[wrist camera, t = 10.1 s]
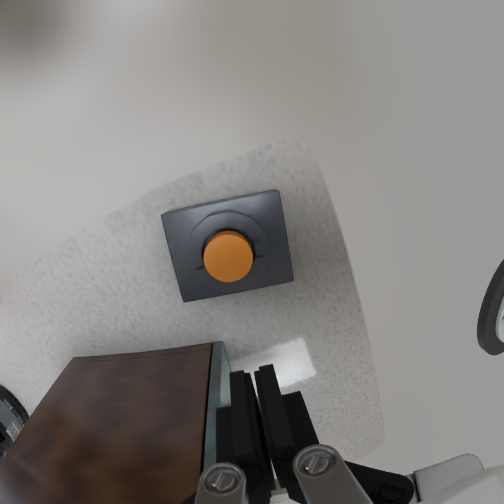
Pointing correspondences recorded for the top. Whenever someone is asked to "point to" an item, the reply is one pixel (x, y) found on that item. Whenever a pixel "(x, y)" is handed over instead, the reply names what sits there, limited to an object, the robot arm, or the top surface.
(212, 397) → the cupboard door
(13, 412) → the supplement container
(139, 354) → the cupboard
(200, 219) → the switch block
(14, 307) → the top surface
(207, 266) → the button
